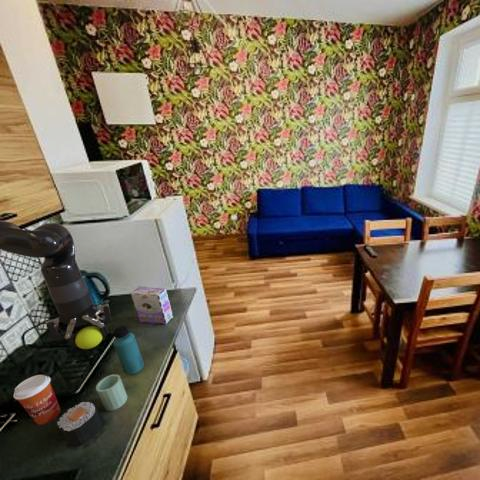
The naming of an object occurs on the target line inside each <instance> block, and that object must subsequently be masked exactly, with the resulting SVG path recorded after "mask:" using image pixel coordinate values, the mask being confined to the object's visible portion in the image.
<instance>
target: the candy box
mask: <svg viewBox="0 0 480 480" xmlns="http://www.w3.org/2000/svg"><path fill="white" fill-rule="evenodd" d="M129 294H130V297H131V301H132V304H133V307H134V310H135V313H136V315H137V316H136V317H137V319H138V321H139V323H145V324H154V325H155V324H156V325H164V326H165V325H167V324H169V322H170V321H171V320H173V319H174V314H173V310H172V307H171V303H170V298H169V295H168V290H167V288H163V287H162V288H161V287H148V286H138V287H137V288H135V289H134V290H133V291H131V292H130V293H129Z"/></svg>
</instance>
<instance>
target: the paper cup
mask: <svg viewBox="0 0 480 480" xmlns="http://www.w3.org/2000/svg"><path fill="white" fill-rule="evenodd" d="M51 381H52V378H51V377H50V376H48V375H45V374H37V375H33V376H31V377H28V378H26V379H24V380H23V381H21V382H20V383H19V384H18V385H17V386H15V388H14V393H13V398H14V399H15V400H17V401H18V402H19V404H20V405H21V406H22V408H23V409H24V410H25V411H26V413H27V414H28V415H29V416H30V418H31V419H32V420H33V421H34V423H36V424H37V425H39V426H40V425H46V424H48V423H50V422H52V421H53V420H55V419H56V418H57V417H58V416H59V414H60V413H61V406H60V404H59V401H58V399H57V397H56V394H55V392H54V389H53V386H52V384H51Z"/></svg>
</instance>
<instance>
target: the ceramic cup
mask: <svg viewBox="0 0 480 480" xmlns="http://www.w3.org/2000/svg"><path fill="white" fill-rule="evenodd" d="M95 390H96V392H97V395H98V397H99V399H100V401H101V404H102V406H103V408H104V410H106V411H107V412H112V411H116V410H118V409H120V408H121V407H122V406H124V405H125V403H126V402H127V400H128V393H127V390H126V388H125V386H124V384H123V380H122V378H121V375H119V374H117V373H116V374H110V375H107V376H105V377H103V378H101V380H100V381H98V382H97V384H96V386H95Z"/></svg>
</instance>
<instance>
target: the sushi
mask: <svg viewBox="0 0 480 480" xmlns="http://www.w3.org/2000/svg"><path fill="white" fill-rule="evenodd" d="M103 422H104V419H103V418H102V416H101V413H100V412H99V409H98V408H97V406H96V405H95V404H93V403H92V402H90V401H86V402H85V401H82V402H81V401H80V402H79V404H75V405H74V406H73V407H70V408H69V409H67V412H64V413H63V414H62V415H61V416H60V417H59V420H58V421H57V422H56V424H57V426H58V429H60V431H61V433H62V435H63V436H64V438H65V439H66V441H67V442H68V444H70V445H71V446H73V447H80V446H83V445H86V444H87V443H88V442H89V441H91V440H92V439H93V438H94V437H95V436H96V435H97V434H99V432H100V431H101V430H102V428H103V426H104V425H103Z"/></svg>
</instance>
